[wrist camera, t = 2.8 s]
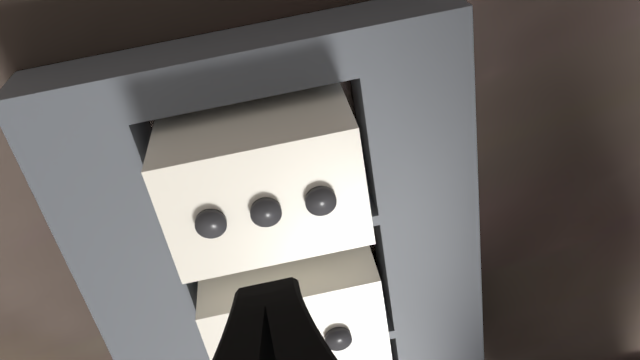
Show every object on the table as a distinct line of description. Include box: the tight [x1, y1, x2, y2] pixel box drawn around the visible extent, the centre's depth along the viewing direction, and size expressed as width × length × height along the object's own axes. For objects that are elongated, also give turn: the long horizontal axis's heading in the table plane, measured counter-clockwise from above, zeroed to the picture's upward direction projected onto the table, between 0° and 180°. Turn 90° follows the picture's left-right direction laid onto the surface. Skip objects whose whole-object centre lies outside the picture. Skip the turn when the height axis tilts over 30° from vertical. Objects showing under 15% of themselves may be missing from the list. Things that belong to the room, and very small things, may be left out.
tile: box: [195, 245, 392, 360], centre depth 22 cm, size 4×6×4 cm, turn 99°
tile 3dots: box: [141, 82, 376, 284], centre depth 19 cm, size 4×6×4 cm, turn 99°
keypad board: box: [0, 0, 484, 360], centre depth 23 cm, size 19×14×2 cm
